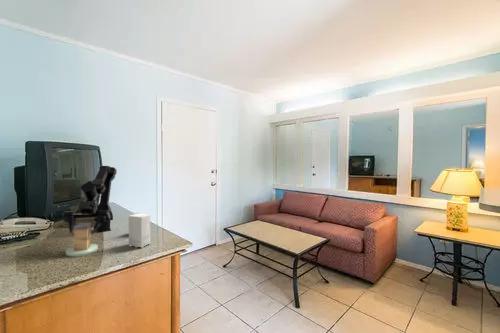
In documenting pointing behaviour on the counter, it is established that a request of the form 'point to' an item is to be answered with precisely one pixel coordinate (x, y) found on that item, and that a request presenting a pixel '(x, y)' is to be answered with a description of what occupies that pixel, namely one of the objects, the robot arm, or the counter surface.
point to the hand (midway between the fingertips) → (82, 232)
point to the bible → (80, 220)
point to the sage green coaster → (81, 251)
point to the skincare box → (139, 230)
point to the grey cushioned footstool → (82, 236)
